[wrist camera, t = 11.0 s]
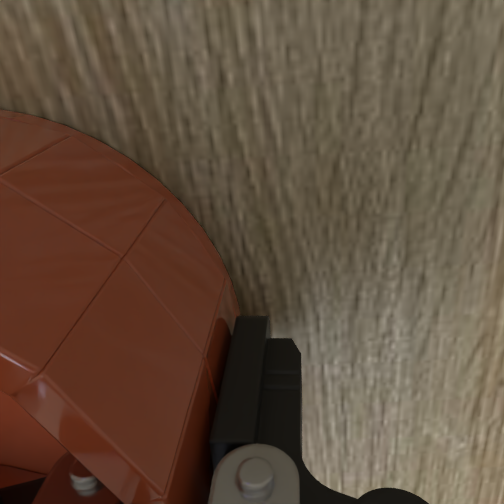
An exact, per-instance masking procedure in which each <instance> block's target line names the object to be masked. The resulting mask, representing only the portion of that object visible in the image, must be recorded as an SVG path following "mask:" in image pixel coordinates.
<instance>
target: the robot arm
mask: <svg viewBox="0 0 504 504" xmlns="http://www.w3.org/2000/svg"><path fill="white" fill-rule="evenodd" d="M209 443H210V450H211V457H212V464H213V470H214V474H213V477H212V483H211V488H210V494H209V500H208V504H429V503H427V502H426V501H425V500H423V499H422V498H420V497H419V496H417V495H415V494H413V493H411V492H408V491H405V490H401V489H396V488H379V489H375V490H372V491H369V492H367V493H365V494H364V495H362V496H361V497H360V498H358V499H356V498H353V497H350V496H347V495H345V494H342V493H339V492H336V491H334V490H332V489H329V488H328V487H326V486H324V485H323V484H321V483H320V482H319V481H317V480H316V479H315V478H314V477H313V476H312V475H311V474H310V472H309V471H308V469H307V468H306V466H305V464H304V462H303V460H302V375H301V353H300V351H299V350H298V348H297V346H296V345H295V343H294V342H293V340H292V338H271V335H270V320H269V316H237V317H236V320H235V324H234V329H233V334H232V338H231V343H230V348H229V352H228V357H227V361H226V366H225V371H224V375H223V380H222V385H221V389H220V394H219V399H218V403H217V408H216V412H215V417H214V422H213V426H212V431H211V436H210V440H209ZM0 504H123V503H122V502H121V501H120V500H119V499H118V498H117V497H116V496H115V495H114V494H113V493H112V492H111V491H110V490H109V489H108V488H107V487H105V486H104V485H103V484H102V483H101V482H100V481H99V480H98V479H97V478H96V477H95V476H94V475H93V474H92V473H91V472H90V471H89V470H87V469H86V468H85V467H84V466H83V465H82V464H81V463H80V462H79V461H78V460H77V459H76V458H75V457H74V456H73V455H72V454H71V453H69V452H66V453H65V454H64V455H63V456H62V457H60V458H59V459H58V461H57V462H56V463H55V464H54V465H53V467H52V468H51V470H50V472H49V473H48V475H47V476H46V477H43V478H39V479H36V480H32V481H28V482H24V483H20V484H16V485H12V486H8V487H4V488H0Z"/></svg>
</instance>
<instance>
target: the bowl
mask: <svg viewBox="0 0 504 504" xmlns="http://www.w3.org/2000/svg"><path fill="white" fill-rule="evenodd" d="M237 316H240V309H239V304H238V301H237V298H236V294H235V291H234V288H233V285H232V281H231V279H230V277H229V275H228V272H227V270H226V268H225V266H224V264H223V262H222V259H221V257H220V255H219V253H218V252H217V250H216V249H215V247H214V245H213V244H212V242H211V241H210V239H209V238H208V236H207V234H206V233H205V231H204V230H203V228H202V227H201V226H200V224H199V223H198V222H197V221H196V220H195V218H194V217H193V216H192V215H191V214H190V212H189V211H188V210H187V209H186V207H185V206H184V205H183V204H182V203H181V202H180V201H179V200H178V199H177V198H176V197H175V196H174V195H173V194H172V193H171V192H170V191H169V190H168V189H167V188H166V187H165V186H163V185H162V184H161V183H160V182H159V181H158V180H157V179H156V178H155V177H153V176H152V175H151V174H149V173H148V172H147V171H145V170H144V169H143V168H141V167H140V166H139V165H137V164H136V163H135V162H133V161H132V160H131V159H129V158H128V157H126V156H124V155H123V154H121V153H119V152H118V151H116V150H114V149H113V148H111V147H109V146H107V145H106V144H104V143H102V142H101V141H99V140H97V139H95V138H92V137H90V136H88V135H86V134H83V133H81V132H79V131H77V130H74V129H72V128H70V127H68V126H65V125H62V124H59V123H56V122H53V121H49V120H46V119H43V118H40V117H36V116H33V115H29V114H24V113H18V112H12V111H6V110H1V109H0V488H4V487H8V486H12V485H16V484H20V483H24V482H28V481H32V480H36V479H39V478H43V477H46V476H47V475H48V473H49V472H50V470H51V468H52V467H53V465H54V464H55V463H56V462H57V461H58V459H59V458H60V457H62V456H63V455H64V454H65V453H66V452H69V453H71V454H72V455H73V456H74V457H75V458H76V459H77V460H78V461H79V462H80V463H81V464H82V465H83V466H84V467H85V468H86V469H87V470H89V471H90V472H91V473H92V474H93V475H94V476H95V477H96V478H97V479H98V480H99V481H100V482H101V483H102V484H103V485H104V486H105V487H107V488H108V489H109V490H110V491H111V492H112V493H113V494H114V495H115V496H116V497H117V498H118V499H119V500H120V501H121V502H122V503H123V504H208V500H209V494H210V488H211V483H212V477H213V474H214V470H213V464H212V457H211V450H210V443H209V440H210V436H211V431H212V426H213V422H214V417H215V412H216V408H217V403H218V399H219V394H220V389H221V385H222V380H223V375H224V371H225V366H226V361H227V357H228V352H229V348H230V343H231V338H232V334H233V329H234V324H235V320H236V317H237Z"/></svg>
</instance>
